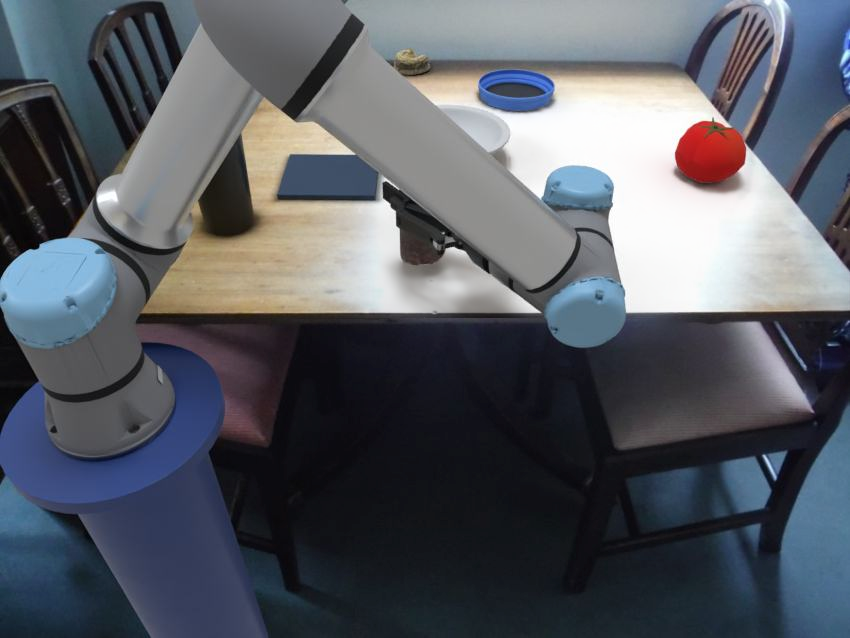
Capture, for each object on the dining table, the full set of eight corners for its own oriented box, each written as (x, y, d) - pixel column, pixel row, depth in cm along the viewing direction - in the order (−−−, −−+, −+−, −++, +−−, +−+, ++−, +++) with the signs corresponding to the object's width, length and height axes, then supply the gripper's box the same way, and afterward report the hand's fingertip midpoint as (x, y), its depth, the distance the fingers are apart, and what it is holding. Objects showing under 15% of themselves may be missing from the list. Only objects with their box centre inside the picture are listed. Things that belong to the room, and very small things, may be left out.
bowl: (530, 79, 167) (531, 64, 165) (566, 106, 155) (569, 91, 152) (465, 88, 162) (466, 74, 160) (497, 117, 150) (499, 102, 147)
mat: (277, 199, 122) (276, 194, 121) (290, 158, 134) (289, 154, 133) (375, 200, 122) (375, 195, 121) (379, 159, 134) (379, 154, 133)
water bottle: (209, 206, 119) (179, 80, 104) (265, 208, 119) (243, 82, 104) (192, 238, 112) (157, 107, 97) (252, 240, 112) (226, 109, 96)
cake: (412, 81, 167) (410, 59, 163) (384, 71, 172) (382, 50, 168) (438, 67, 172) (437, 46, 168) (411, 58, 177) (409, 38, 173)
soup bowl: (527, 152, 137) (531, 121, 133) (470, 202, 122) (473, 170, 117) (429, 124, 147) (429, 95, 142) (365, 167, 131) (363, 136, 127)
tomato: (662, 159, 135) (675, 110, 128) (722, 160, 135) (739, 110, 128) (681, 193, 125) (696, 141, 118) (746, 193, 125) (765, 141, 118)
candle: (409, 237, 109) (407, 123, 96) (451, 245, 108) (456, 130, 95) (393, 263, 104) (389, 146, 91) (438, 272, 102) (440, 154, 89)
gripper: (447, 302, 86) (351, 223, 99) (555, 249, 95) (455, 184, 109) (449, 254, 81) (348, 179, 94) (563, 204, 90) (457, 142, 104)
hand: (405, 182), depth 101 cm, fingers closed on candle, 7 cm apart
